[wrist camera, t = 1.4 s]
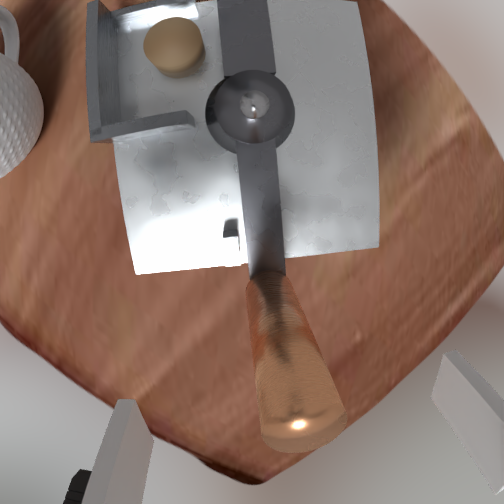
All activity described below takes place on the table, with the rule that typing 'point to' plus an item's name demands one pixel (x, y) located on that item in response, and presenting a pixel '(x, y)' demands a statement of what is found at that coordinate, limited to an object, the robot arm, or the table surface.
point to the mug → (16, 101)
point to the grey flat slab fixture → (223, 147)
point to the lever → (271, 240)
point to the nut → (175, 47)
